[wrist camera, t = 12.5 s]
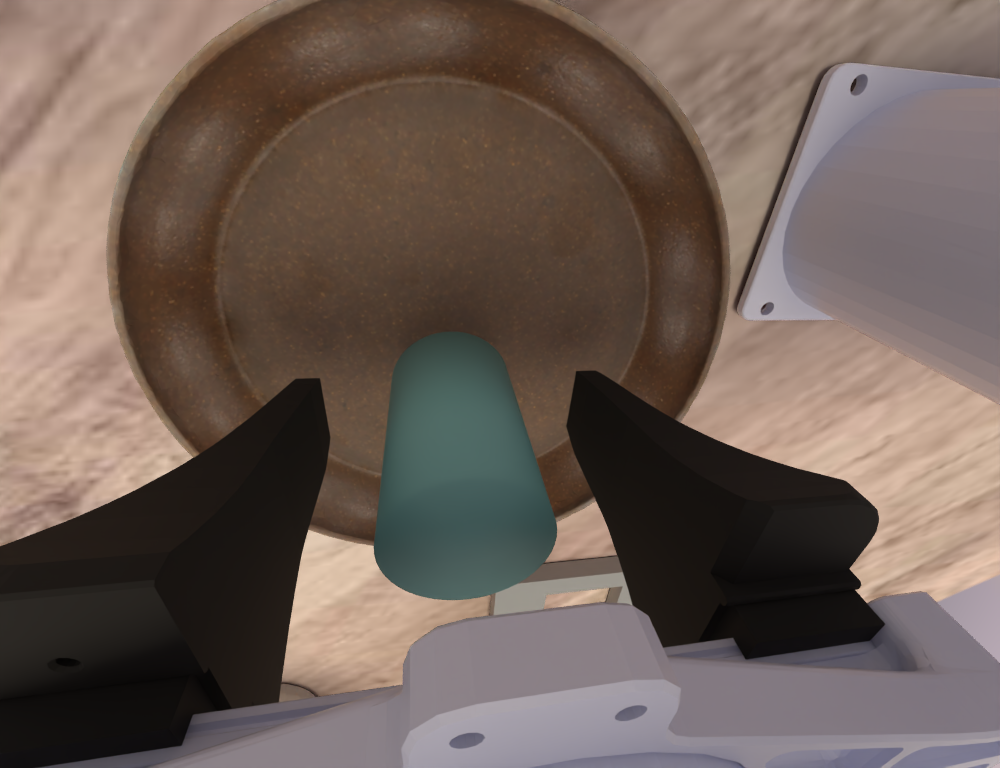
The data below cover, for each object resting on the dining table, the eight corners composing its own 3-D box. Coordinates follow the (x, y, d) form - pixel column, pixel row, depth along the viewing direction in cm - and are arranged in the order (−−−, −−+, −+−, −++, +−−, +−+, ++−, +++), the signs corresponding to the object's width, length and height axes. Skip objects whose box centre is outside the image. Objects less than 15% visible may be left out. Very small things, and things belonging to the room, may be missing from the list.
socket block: (667, 551, 25) (675, 566, 24) (638, 620, 29) (645, 635, 28) (493, 568, 23) (496, 585, 23) (487, 639, 27) (489, 656, 26)
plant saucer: (92, 398, 15) (28, 457, 13) (307, -232, 9) (264, -363, 6) (500, 538, 23) (511, 593, 20) (775, 249, 16) (840, 276, 14)
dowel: (531, 371, 14) (593, 522, 9) (462, 446, 15) (482, 615, 10) (437, 308, 12) (449, 448, 7) (368, 396, 14) (337, 569, 9)
